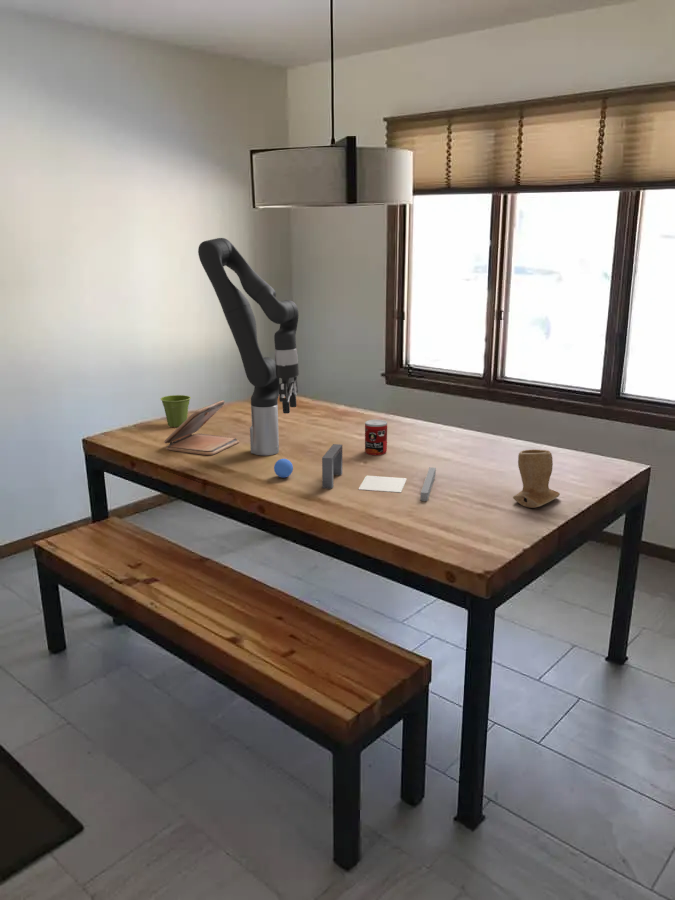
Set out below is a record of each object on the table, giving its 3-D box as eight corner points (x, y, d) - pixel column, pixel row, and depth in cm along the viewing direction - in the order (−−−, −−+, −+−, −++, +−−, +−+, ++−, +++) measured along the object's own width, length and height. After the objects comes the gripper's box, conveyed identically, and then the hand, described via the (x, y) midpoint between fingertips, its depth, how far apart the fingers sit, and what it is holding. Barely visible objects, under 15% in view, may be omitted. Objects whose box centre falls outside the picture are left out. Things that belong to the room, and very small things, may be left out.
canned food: (361, 454, 265) (361, 423, 261) (369, 448, 272) (369, 418, 268) (382, 456, 262) (383, 425, 259) (389, 450, 269) (390, 420, 266)
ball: (271, 479, 239) (271, 461, 237) (277, 473, 244) (276, 455, 243) (290, 480, 237) (289, 462, 236) (295, 474, 243) (295, 456, 241)
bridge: (322, 488, 231) (322, 457, 228) (333, 472, 245) (333, 444, 242) (331, 488, 230) (331, 458, 227) (342, 473, 244) (342, 444, 241)
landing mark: (358, 489, 229) (358, 488, 229) (366, 476, 242) (366, 475, 242) (401, 492, 227) (401, 492, 227) (406, 478, 239) (406, 478, 239)
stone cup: (528, 489, 229) (531, 441, 225) (564, 498, 222) (568, 449, 217) (501, 502, 219) (504, 452, 214) (538, 512, 211) (542, 461, 207)
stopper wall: (420, 500, 220) (420, 492, 220) (429, 474, 243) (429, 467, 242) (427, 501, 220) (427, 492, 219) (435, 475, 242) (435, 467, 242)
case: (195, 436, 289) (192, 395, 284) (242, 442, 280) (240, 400, 275) (161, 450, 271) (158, 407, 266) (211, 458, 262) (208, 413, 258)
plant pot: (198, 424, 304) (197, 397, 300) (174, 430, 295) (172, 402, 292) (180, 420, 311) (178, 393, 308) (156, 425, 302) (154, 398, 299)
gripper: (281, 358, 257) (284, 405, 261) (269, 366, 244) (273, 415, 248) (303, 358, 255) (305, 405, 260) (291, 366, 242) (295, 415, 247)
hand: (289, 410), depth 254 cm, fingers open, 8 cm apart
